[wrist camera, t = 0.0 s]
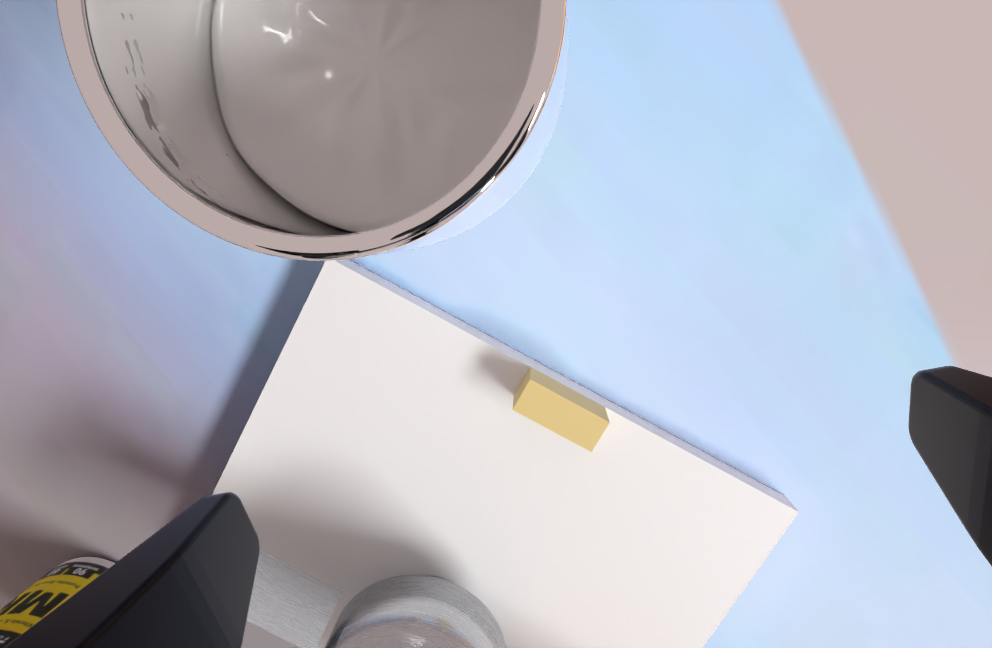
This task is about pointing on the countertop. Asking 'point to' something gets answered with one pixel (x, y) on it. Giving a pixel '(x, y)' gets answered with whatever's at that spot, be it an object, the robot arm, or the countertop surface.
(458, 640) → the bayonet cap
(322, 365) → the coupling board
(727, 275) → the countertop surface
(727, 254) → the countertop surface
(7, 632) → the supplement bottle
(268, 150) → the beer glass
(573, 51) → the countertop surface
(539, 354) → the countertop surface
